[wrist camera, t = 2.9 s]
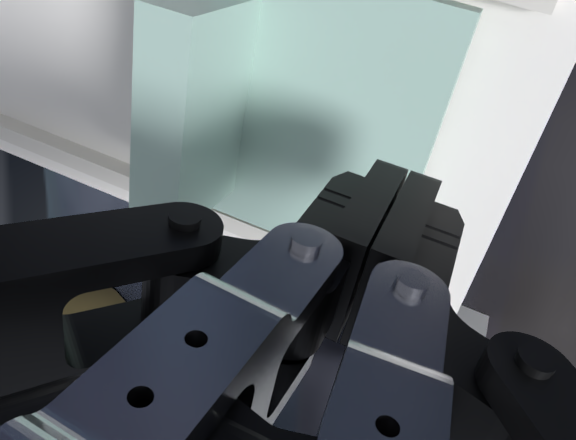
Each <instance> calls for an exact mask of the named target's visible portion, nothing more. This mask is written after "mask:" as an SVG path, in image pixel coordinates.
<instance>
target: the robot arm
mask: <svg viewBox="0 0 576 440" xmlns="http://www.w3.org/2000/svg"><path fill="white" fill-rule="evenodd" d="M407 173H408V169H406V168H403V167H400V166H397V165H394V164H391V163H388V162H385V161H382V160H379V159H377V160H376V161H375V163H374V164H373V166H372V167H371V169H370V170H369V172H368V173H367V175H366V176H365V177H363V176H361V175H358V174H355V173H352V172H349V171H347V172H344V173H342V174H339V175H337V176H334V177H332V178H331V179H330V181H329V182H328V183H327V184H326V186H325V187H324V189H323V190H322V191H321V192H320V193H319V195H318V196H317V198H315V200H314V201H313V202H312V203H311V205H310V206H309V207H308V208H307V210H306V211H305V212H304V214H303V215H302V216H301V217H300V219H299V220H298V221H297V222H292V223H284V224H281V225H278V226H276V227H275V228H273V229H272V230H271V231H270V232H269V233H268V234H267V235H265V236H264V237H263V238H262V239H261V240H249V239H242V238H236V237H230V236H225V235H223V230H224V224H223V221H222V219H221V218H220V217H219V215H218V214H217V213H215V212H214V211H213V210H211V209H209V208H207V207H205V206H202V205H199V204H195V203H190V202H169V203H162V204H154V205H147V206H139V207H132V208H124V209H117V210H109V211H102V212H95V213H87V214H80V215H72V216H65V217H57V218H50V219H42V220H35V221H27V222H20V223H12V224H5V225H0V440H576V369H575V367H574V366H573V365H572V364H571V363H570V362H569V360H568V359H567V358H566V357H565V356H564V355H563V354H561V353H560V352H559V351H558V350H557V349H555V348H554V347H553V346H551V345H550V344H548V343H546V342H544V341H543V340H541V339H538V338H536V337H534V336H531V335H528V334H525V333H521V332H513V331H512V332H501V333H498V334H496V335H494V336H493V337H492V338H491V339H490V340H489V339H488V338H486V337H484V336H483V335H481V334H480V333H478V332H477V331H475V330H474V329H472V328H471V327H470V326H468V325H467V324H466V323H465V322H464V321H463V320H462V319H461V318H460V317H459V316H458V315H457V314H456V313H455V311H454V310H453V308H452V306H451V305H450V302H451V295H450V292H449V285H450V281H451V277H452V273H453V269H454V265H455V261H456V257H457V253H458V248H459V245H460V241H461V237H462V233H463V229H464V225H465V224H464V222H463V219H462V217H461V215H460V213H459V211H458V209H455V208H452V207H449V206H446V205H444V204H441V203H438V202H435V199H436V196H437V194H438V191H439V188H440V186H441V183H442V181H441V180H438V179H435V178H432V177H429V176H426V175H424V174H421V173H418V172H415V171H412V170H411V171H410V173H409V175H408V177H407ZM406 177H407V179H406ZM137 282H142V298H141V299H137V300H132V301H128V302H123V303H119V304H114V305H109V306H105V307H100V308H96V309H91V310H86V311H82V312H77V313H73V314H62V313H63V309H64V307H65V306H66V304H67V303H68V302H69V301H70V300H71V299H73V298H74V297H76V296H78V295H80V294H83V293H88V292H92V291H97V290H102V289H107V288H112V287H117V286H122V285H127V284H132V283H137ZM346 321H347V322H346ZM345 323H346V325H345ZM344 325H345V328H344V332H343V335H342V338H341V341H340V344H342V345H345V346H346V349H345V352H344V355H343V358H342V361H341V363H340V366H339V369H338V372H337V375H336V378H335V381H334V384H333V387H332V390H331V393H330V396H329V399H328V402H327V405H326V408H325V411H324V415H323V418H322V421H321V424H320V427H319V430H318V433H317V436H316V437H314V436H310V435H305V434H301V433H297V432H292V431H288V430H283V429H280V428H277V427H275V426H273V423H274V421H275V420H276V418H277V417H278V415H279V414H280V412H281V411H282V409H283V408H284V406H285V404H286V403H287V401H288V400H289V398H290V397H291V395H292V394H293V392H294V390H295V389H296V387H297V386H298V384H299V383H300V381H301V380H302V378H303V376H304V375H305V373H306V372H307V370H308V369H309V367H310V365H311V363H312V359H313V356H314V353H316V352H317V350H318V349H319V347H320V345H321V343H322V341H323V339H324V337H325V338H328V339H330V340H332V341H335V342H337V340H338V338H339V336H340V333H341V331H342V329H343V327H344Z"/></svg>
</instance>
